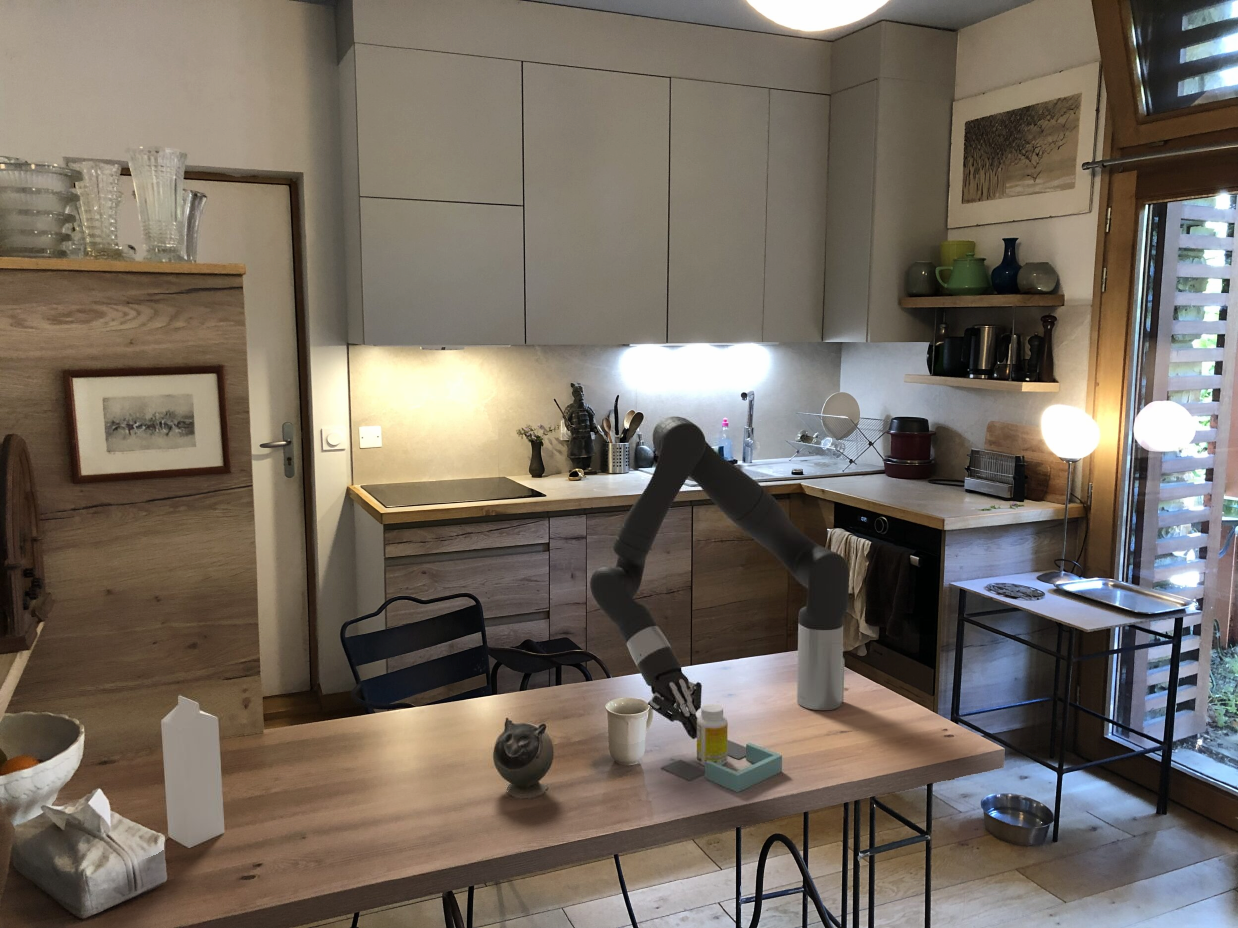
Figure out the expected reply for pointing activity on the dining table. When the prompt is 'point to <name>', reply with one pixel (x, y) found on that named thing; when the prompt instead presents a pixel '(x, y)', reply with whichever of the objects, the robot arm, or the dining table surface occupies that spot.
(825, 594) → the robot arm
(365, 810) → the dining table surface
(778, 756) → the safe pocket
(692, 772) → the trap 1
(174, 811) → the milk
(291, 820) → the dining table surface
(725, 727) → the supplement bottle
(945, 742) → the dining table surface
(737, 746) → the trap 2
